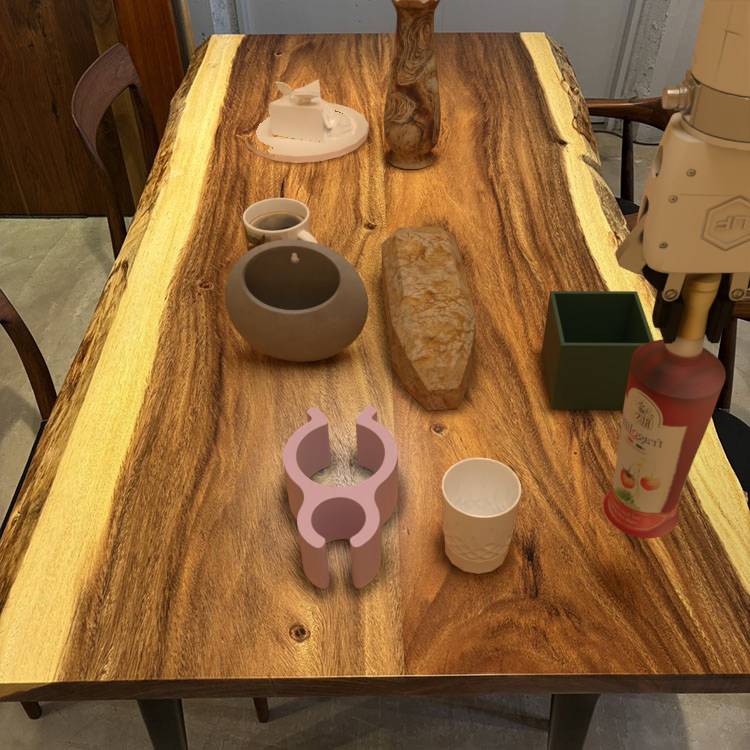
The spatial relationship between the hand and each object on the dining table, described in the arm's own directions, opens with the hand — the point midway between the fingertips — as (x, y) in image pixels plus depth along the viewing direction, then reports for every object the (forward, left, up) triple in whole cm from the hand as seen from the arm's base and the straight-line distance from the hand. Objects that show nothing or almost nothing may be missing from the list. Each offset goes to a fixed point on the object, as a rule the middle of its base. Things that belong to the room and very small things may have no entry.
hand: (687, 330), depth 65 cm
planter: (+50, +4, -33) cm, 60 cm away
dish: (+107, -37, -33) cm, 118 cm away
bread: (+45, -14, -33) cm, 57 cm away
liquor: (0, 0, -23) cm, 23 cm away
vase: (+85, -46, -33) cm, 102 cm away
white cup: (+12, +8, -33) cm, 36 cm away
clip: (+25, +16, -33) cm, 44 cm away
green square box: (+22, -22, -33) cm, 45 cm away
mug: (+67, -5, -33) cm, 75 cm away
